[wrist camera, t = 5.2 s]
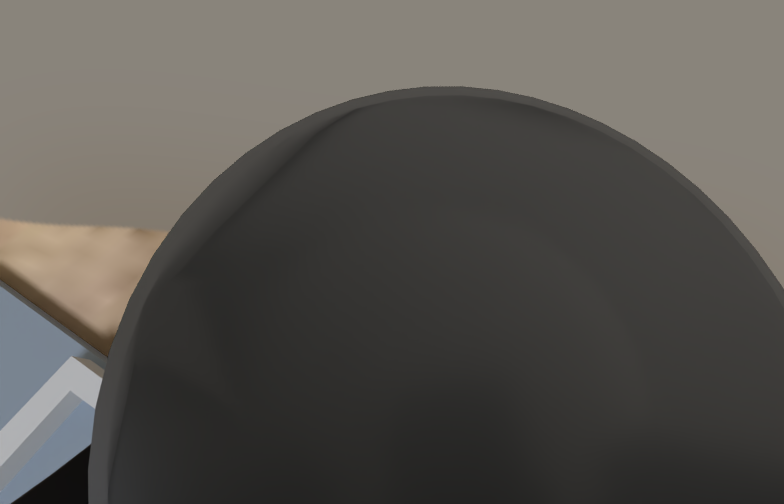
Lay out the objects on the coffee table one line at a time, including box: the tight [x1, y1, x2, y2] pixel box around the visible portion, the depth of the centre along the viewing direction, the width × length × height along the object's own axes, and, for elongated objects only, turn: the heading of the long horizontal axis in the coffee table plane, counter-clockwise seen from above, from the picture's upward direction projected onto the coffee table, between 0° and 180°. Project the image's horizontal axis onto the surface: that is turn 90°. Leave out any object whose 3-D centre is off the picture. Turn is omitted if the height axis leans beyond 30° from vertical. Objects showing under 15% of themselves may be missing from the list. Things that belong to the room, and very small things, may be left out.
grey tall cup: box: [88, 87, 784, 504], centre depth 9 cm, size 5×5×13 cm
